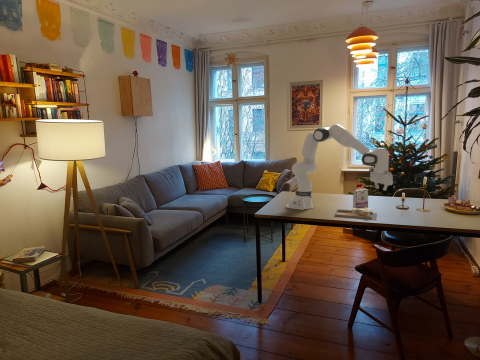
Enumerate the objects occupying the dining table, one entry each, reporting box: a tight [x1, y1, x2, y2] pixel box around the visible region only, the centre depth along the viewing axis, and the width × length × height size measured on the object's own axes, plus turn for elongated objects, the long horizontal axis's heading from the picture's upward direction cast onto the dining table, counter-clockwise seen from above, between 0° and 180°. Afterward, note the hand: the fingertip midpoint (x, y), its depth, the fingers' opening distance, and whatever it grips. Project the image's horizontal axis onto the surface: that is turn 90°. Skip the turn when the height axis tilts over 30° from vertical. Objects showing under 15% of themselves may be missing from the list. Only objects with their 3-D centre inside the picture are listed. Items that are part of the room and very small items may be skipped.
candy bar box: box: [352, 188, 369, 209], centre depth 269 cm, size 11×5×16 cm, turn 105°
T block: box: [352, 207, 371, 217], centre depth 251 cm, size 12×12×5 cm
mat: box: [332, 208, 378, 221], centre depth 253 cm, size 30×20×2 cm, turn 66°
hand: (380, 189), depth 243 cm, fingers open, 7 cm apart
